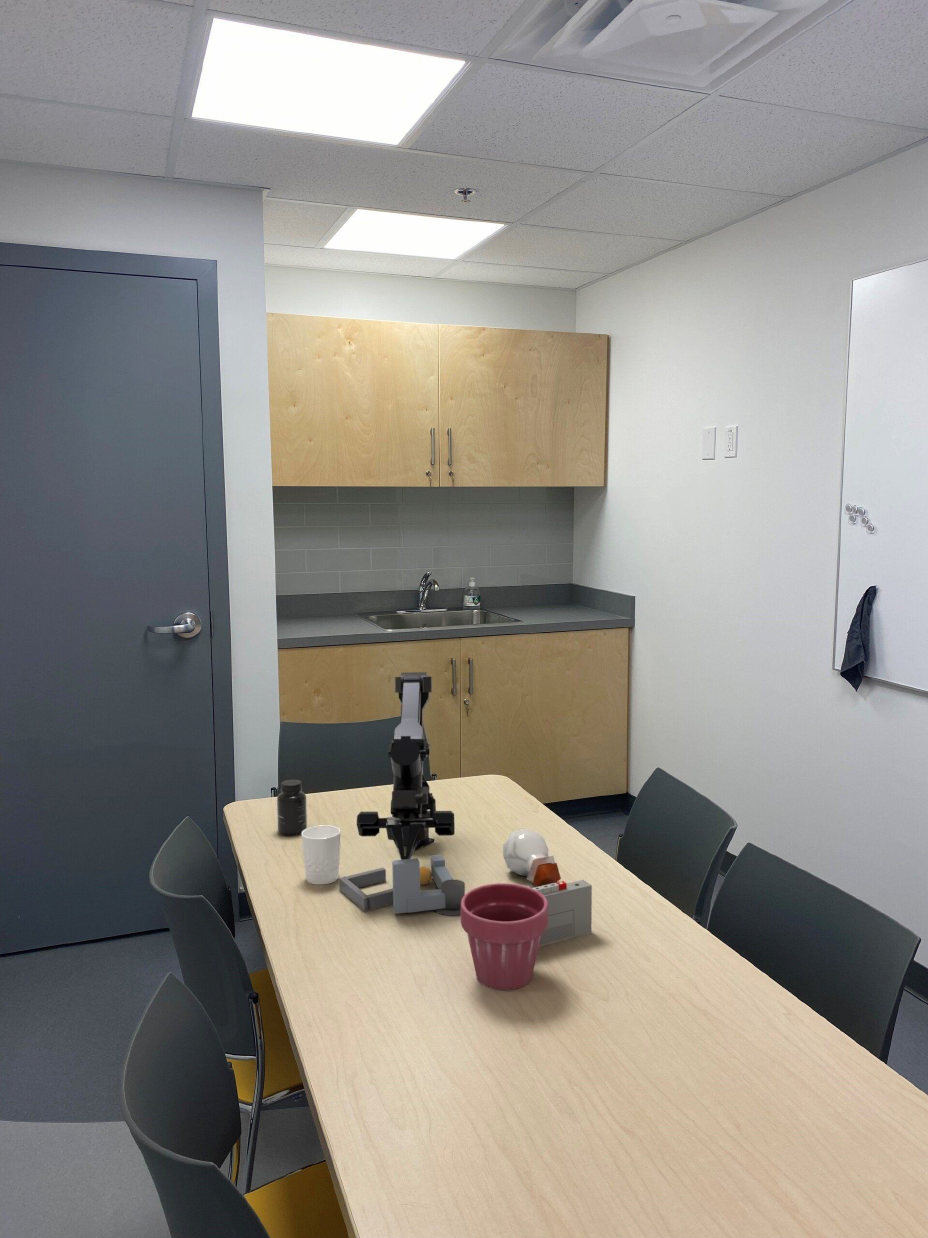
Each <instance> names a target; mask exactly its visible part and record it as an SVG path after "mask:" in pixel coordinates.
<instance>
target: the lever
mask: <svg viewBox="0 0 928 1238" xmlns="http://www.w3.org/2000/svg"><path fill="white" fill-rule="evenodd" d="M391 863H392V870H391V872H392V888H393V904H392V908H393V909H392V910H393V912H394V914H396V915H397V914H402V913H403V914H405V913H408V914H410V913H416V912H425V911H434V910H435V909H443V908H446V909H460V908H461V900H462V898H463V897H464V895H465V894H466V887H465V882H464V881H463V880H460V879H454V878H453V876H452V874H451V873H450V871H449V870H448V868H447V866H446V859H445V857H444V856H443V854H435V855H430V871H431V874H432V879H433V882H434V883H435V885H436V887H437V888H438V889H430V890H428V889H427V890H421V884H420V867H421V866H420V865H421V864H420V861H419V858H418V857H416V858H411V859H404V860H401V859H396V860H392V861H391Z"/></svg>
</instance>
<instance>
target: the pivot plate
mask: <svg viewBox="0 0 928 1238" xmlns="http://www.w3.org/2000/svg"><path fill="white" fill-rule="evenodd" d="M434 910H435V912H437V913H438V914H440V915H443V916H447V917H459V916H460V917H461V908H460V909H446V908H443V909H434Z"/></svg>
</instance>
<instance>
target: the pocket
mask: <svg viewBox="0 0 928 1238" xmlns="http://www.w3.org/2000/svg"><path fill="white" fill-rule="evenodd" d="M386 873H387V871H386V868H384V867H380V868H375V869H371V870H367V871H362V872H358V873H355V874H352V875H351V874H350V875H347V876H343V877H339V878H338V880H339V881H338V884H339V885H338V886H339V888H338V889H339V891H340V892H341V893H342V894H343V895H344V896H346V897H347V898H348V899H349V900H351V902H353V903H354V904H355V905H356V906H358V908H360V909H361V910H362V911H363V912H368V911H371V910H375V909H379V908H383V907H386V906H389V905H393V887H392V888H390V889H389V888H388V889H385V890H382V891H378V892H377V891H376V892H373V893H370V894H369V893H368V894H366V893H365V892H364V891H363V890H362V889H361V888H364V887H369V886H373V885H375V884H376V885H377V884H380V883H385V882H386V881H387V874H386Z"/></svg>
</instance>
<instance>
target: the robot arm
mask: <svg viewBox="0 0 928 1238" xmlns="http://www.w3.org/2000/svg"><path fill="white" fill-rule="evenodd" d="M394 690H395V691H394V692H395V693H396V694H397V693H398V699H399V701H400V703H401V707H400V709H401V710H400V723H399V724H398V725H397V726H396V727H395V728H394V729H393V739H390V740H389V746H388V751H387V752H388V753H387V754H388V755H387V756H388V759H390V761H391V768H392V769H391V771H392V773H393V784H392V785H393V786H392V787H393V789H392V791H391V800H390V815H391V816H387V817H380V816H379V811H360V812H359V813H358V814H357V816H356V827H357V828H356V829H357V831H358V836H360V837H376V836H377V835H378V834H380V830H381V829H385V830H386V835H387V840H390V841H392V842H393V843H394V845H395V847H396V849H397V851H398V855H399V858H400V860H404V859H412V857H413V854H414V851H415V850H420V849H422V848H424V847H426V846H428V845H430V844H432V843H434V842H435V838H432V837H430V836H429V835H430V834H429V833H430V831H429V830H430V829H432V828H433V829H434V833H435V834H436V835H437V836H438V837H440V836H441V837H443V836H444V837H445V836H446V837H449V836H454V835H455V833H456V832H455V827H456V825H455V813H454V812H453V811H452V810H437V803H436V798H434V795H433V793H432V792H430V789H431V788H430V785H429V783H428V781H427V779H426V778H425V776H424V761H425V759H427V758H428V756H430V754H431V744H430V743H429V741H428V739H425V729H424V710H425V708H426V707H427V705H428V704H429V701H430V693H433V676H429V675H428V672H426V671H425V672H423V671H422V672H421V671H419V672H400V676H395V677H394ZM405 847H406V849H405Z"/></svg>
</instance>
